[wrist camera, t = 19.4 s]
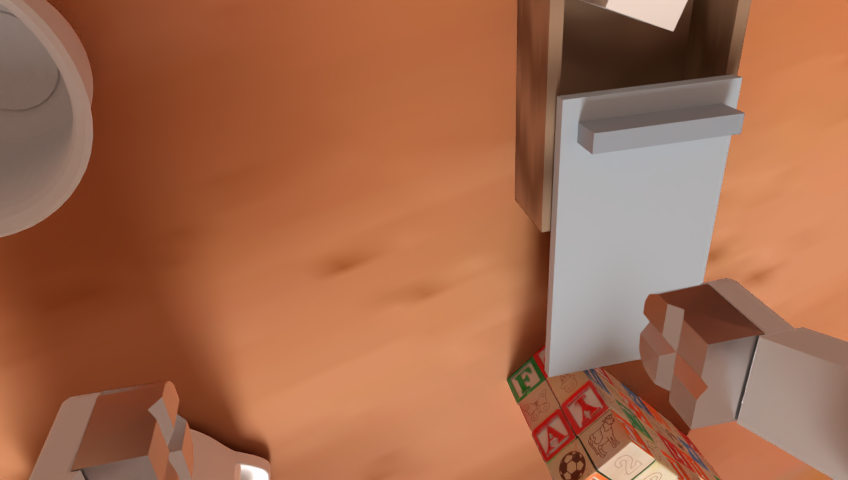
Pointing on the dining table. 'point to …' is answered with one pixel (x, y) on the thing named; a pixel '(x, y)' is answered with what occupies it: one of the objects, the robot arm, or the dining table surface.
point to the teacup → (41, 112)
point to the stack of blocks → (601, 428)
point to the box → (604, 69)
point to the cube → (646, 10)
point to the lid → (631, 209)
